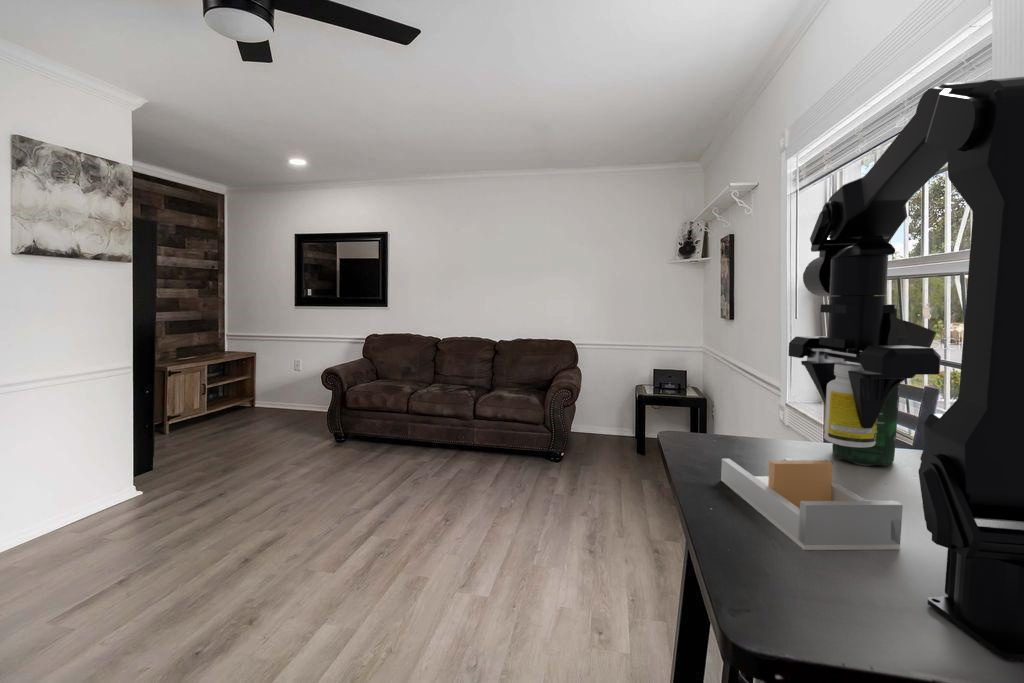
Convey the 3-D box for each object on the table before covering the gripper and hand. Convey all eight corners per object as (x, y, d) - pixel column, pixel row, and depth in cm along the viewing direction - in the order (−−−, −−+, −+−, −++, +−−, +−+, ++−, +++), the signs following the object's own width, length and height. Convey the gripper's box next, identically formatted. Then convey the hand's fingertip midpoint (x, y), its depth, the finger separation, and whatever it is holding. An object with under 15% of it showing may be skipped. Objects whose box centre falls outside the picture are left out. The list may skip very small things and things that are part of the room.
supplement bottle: (885, 450, 59) (890, 367, 58) (834, 447, 60) (838, 366, 59) (862, 437, 64) (867, 362, 64) (816, 435, 65) (820, 361, 65)
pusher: (830, 506, 57) (832, 463, 57) (773, 506, 57) (774, 463, 57) (824, 502, 58) (825, 460, 58) (767, 502, 58) (769, 460, 58)
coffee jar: (897, 472, 71) (905, 341, 69) (831, 462, 75) (837, 339, 74) (892, 454, 79) (900, 337, 77) (833, 446, 83) (838, 335, 81)
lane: (899, 549, 49) (902, 504, 48) (804, 550, 49) (806, 505, 48) (790, 479, 68) (791, 447, 67) (721, 480, 68) (722, 447, 67)
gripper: (997, 295, 52) (986, 443, 53) (867, 296, 70) (861, 406, 71) (890, 295, 52) (881, 443, 53) (788, 297, 70) (784, 406, 71)
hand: (850, 422), depth 62 cm, fingers closed on supplement bottle, 5 cm apart
